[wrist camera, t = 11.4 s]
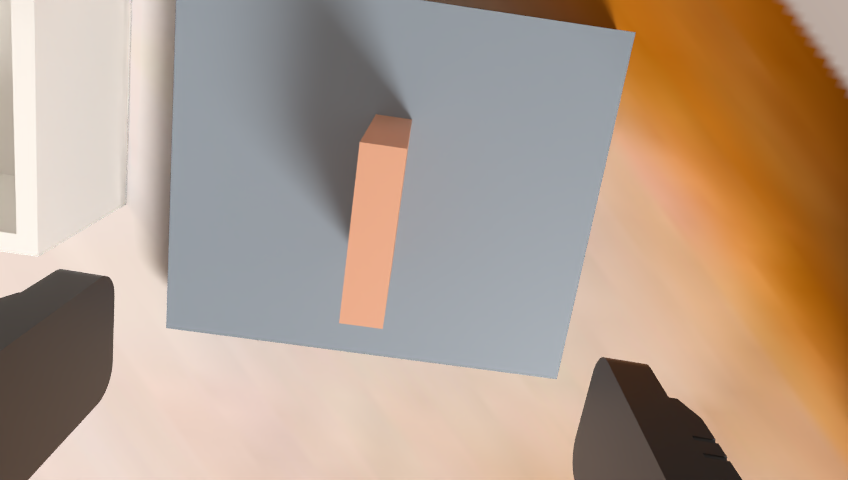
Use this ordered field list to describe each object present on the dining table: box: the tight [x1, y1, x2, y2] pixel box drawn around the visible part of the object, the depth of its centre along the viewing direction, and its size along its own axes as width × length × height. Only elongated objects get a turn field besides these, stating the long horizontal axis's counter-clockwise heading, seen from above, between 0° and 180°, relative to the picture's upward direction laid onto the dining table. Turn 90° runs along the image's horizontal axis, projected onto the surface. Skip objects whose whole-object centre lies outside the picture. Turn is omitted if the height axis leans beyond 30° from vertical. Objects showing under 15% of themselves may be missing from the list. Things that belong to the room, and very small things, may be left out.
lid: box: [166, 0, 635, 379], centre depth 21 cm, size 14×12×8 cm
